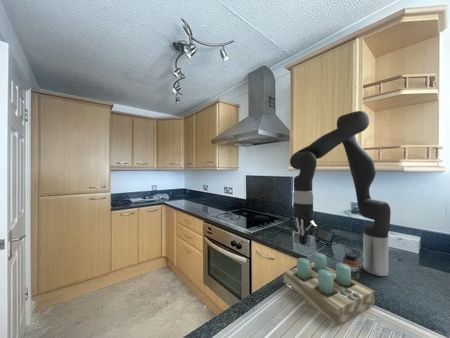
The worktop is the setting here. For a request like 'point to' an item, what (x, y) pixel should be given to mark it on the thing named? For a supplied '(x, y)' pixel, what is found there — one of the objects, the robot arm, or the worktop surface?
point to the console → (331, 295)
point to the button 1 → (303, 268)
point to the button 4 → (343, 274)
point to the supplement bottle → (352, 265)
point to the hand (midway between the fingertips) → (303, 244)
